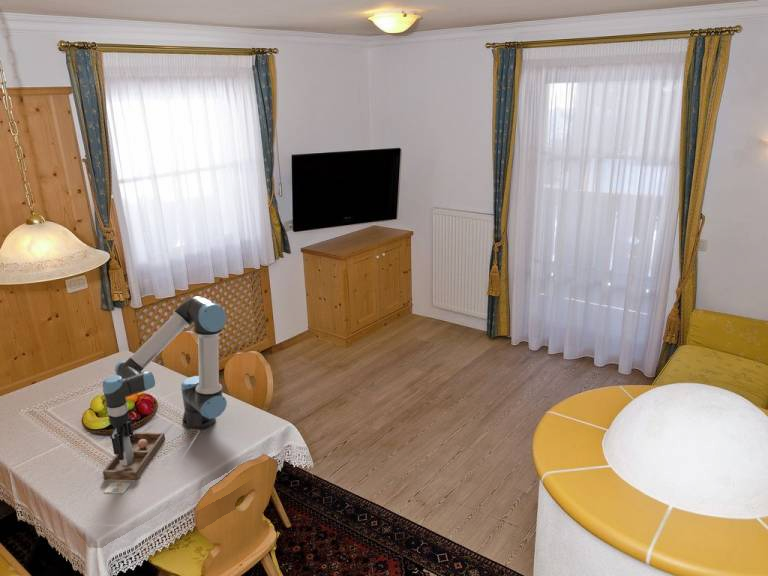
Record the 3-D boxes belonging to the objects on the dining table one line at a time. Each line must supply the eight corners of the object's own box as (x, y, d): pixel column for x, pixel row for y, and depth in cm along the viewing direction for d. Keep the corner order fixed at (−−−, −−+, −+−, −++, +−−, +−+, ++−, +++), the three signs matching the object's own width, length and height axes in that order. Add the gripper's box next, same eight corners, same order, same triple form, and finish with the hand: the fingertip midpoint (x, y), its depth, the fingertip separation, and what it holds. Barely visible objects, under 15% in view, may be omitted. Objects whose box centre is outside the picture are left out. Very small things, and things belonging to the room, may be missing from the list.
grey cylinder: (136, 459, 247) (131, 435, 243) (130, 467, 242) (126, 442, 238) (124, 459, 247) (120, 435, 243) (118, 466, 242) (114, 442, 238)
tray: (165, 440, 265) (164, 433, 264) (137, 480, 239) (136, 472, 237) (135, 439, 266) (134, 432, 264) (104, 479, 240) (102, 471, 238)
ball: (149, 444, 260) (148, 437, 259) (145, 450, 257) (144, 442, 255) (140, 444, 261) (139, 437, 259) (136, 450, 257) (135, 442, 255)
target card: (130, 483, 237) (130, 482, 237) (123, 493, 231) (123, 492, 231) (111, 483, 237) (111, 482, 237) (103, 492, 232) (103, 491, 232)
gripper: (119, 400, 245) (128, 447, 253) (97, 424, 228) (107, 474, 236) (137, 401, 245) (145, 448, 252) (116, 425, 228) (125, 474, 236)
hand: (127, 460), depth 244 cm, fingers closed on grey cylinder, 5 cm apart
